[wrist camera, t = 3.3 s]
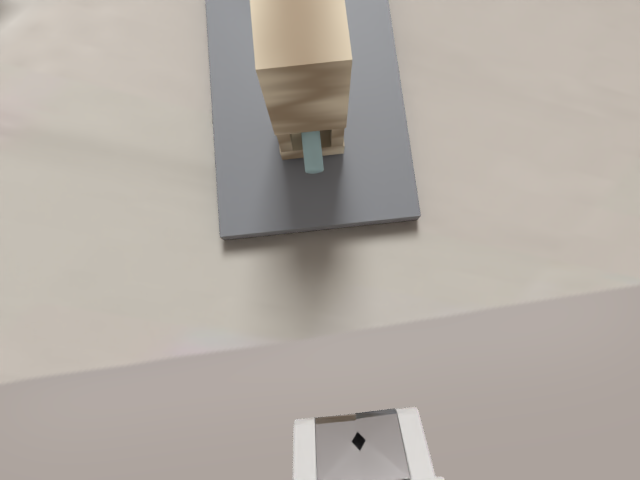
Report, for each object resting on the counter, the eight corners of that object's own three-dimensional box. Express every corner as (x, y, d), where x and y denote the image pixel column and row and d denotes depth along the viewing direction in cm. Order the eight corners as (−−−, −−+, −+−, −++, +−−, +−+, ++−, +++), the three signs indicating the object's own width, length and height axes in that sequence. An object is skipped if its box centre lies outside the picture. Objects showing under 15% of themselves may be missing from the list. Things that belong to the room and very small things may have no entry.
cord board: (224, 240, 31) (186, 211, 23) (202, -105, 36) (166, -227, 28) (417, 219, 31) (448, 184, 23) (366, -123, 36) (376, -249, 28)
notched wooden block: (281, 160, 30) (255, 69, 19) (277, 108, 31) (249, -8, 20) (343, 153, 30) (352, 59, 19) (337, 101, 31) (342, -18, 20)
